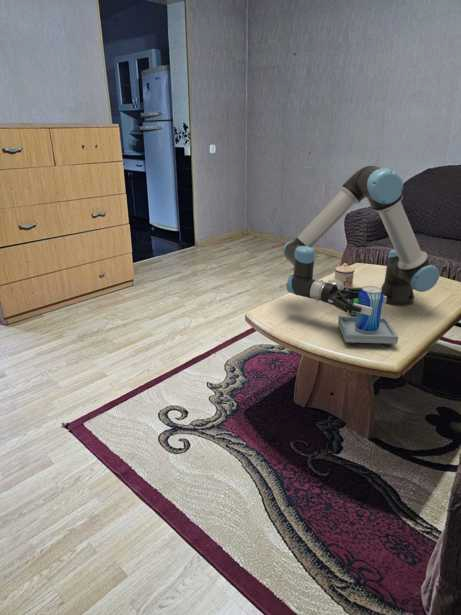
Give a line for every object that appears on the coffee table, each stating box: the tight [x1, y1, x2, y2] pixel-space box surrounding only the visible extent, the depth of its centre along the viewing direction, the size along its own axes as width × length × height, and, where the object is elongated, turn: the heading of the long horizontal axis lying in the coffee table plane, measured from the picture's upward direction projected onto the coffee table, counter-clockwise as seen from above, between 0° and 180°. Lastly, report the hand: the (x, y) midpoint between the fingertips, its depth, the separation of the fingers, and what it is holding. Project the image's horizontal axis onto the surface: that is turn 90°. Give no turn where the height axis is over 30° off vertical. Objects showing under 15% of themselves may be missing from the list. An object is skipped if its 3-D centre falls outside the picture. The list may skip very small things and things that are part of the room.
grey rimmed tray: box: [337, 315, 399, 348], centre depth 161 cm, size 18×16×5 cm
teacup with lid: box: [334, 262, 355, 288], centre depth 211 cm, size 12×9×12 cm
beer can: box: [355, 285, 384, 334], centre depth 157 cm, size 8×8×16 cm
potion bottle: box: [319, 279, 344, 290], centre depth 197 cm, size 9×10×15 cm
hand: (378, 305), depth 154 cm, fingers open, 13 cm apart
